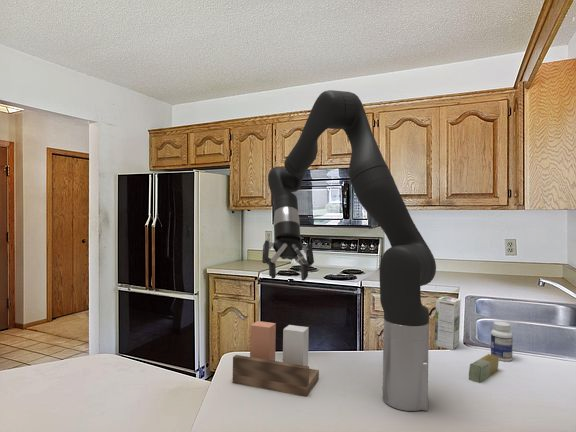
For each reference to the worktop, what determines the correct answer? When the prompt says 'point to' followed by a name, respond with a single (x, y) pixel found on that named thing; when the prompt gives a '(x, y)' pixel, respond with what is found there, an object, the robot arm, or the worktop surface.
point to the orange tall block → (263, 340)
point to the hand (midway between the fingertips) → (289, 278)
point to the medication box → (483, 368)
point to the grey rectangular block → (295, 345)
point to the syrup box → (447, 322)
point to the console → (274, 375)
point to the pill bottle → (502, 341)
